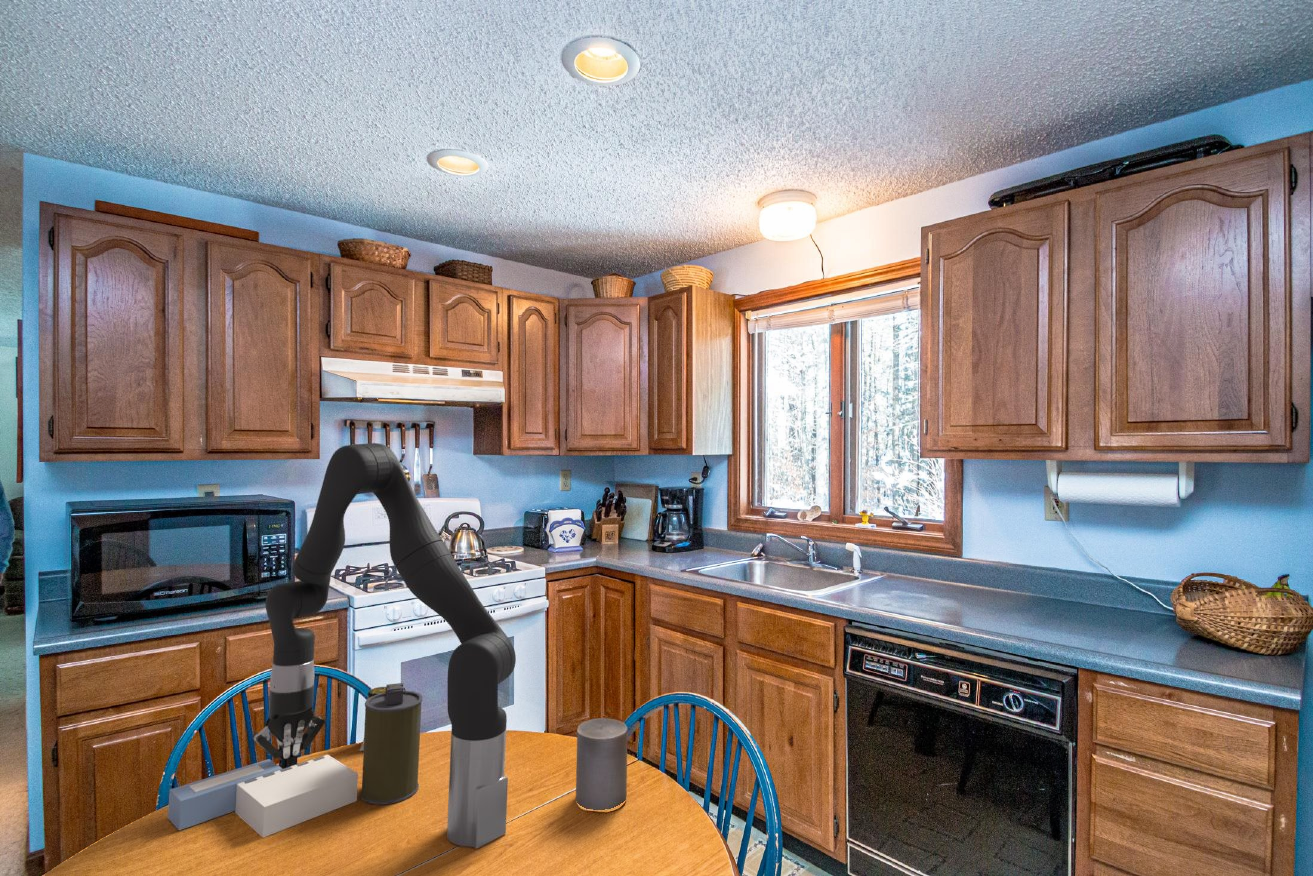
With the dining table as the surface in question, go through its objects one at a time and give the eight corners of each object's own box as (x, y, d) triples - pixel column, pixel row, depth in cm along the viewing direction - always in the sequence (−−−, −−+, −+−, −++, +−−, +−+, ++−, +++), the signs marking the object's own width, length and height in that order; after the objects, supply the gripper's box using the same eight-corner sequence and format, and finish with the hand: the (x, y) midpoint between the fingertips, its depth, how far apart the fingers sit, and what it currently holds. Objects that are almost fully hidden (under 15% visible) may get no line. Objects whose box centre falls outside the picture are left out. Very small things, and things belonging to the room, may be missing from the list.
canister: (421, 799, 122) (426, 691, 123) (360, 809, 118) (366, 698, 119) (415, 773, 132) (420, 674, 133) (359, 783, 127) (364, 679, 128)
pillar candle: (610, 783, 130) (612, 707, 131) (635, 805, 122) (637, 724, 122) (566, 796, 125) (568, 717, 125) (589, 820, 117) (591, 735, 117)
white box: (356, 800, 121) (358, 772, 121) (262, 837, 108) (264, 806, 108) (326, 780, 128) (327, 754, 128) (235, 812, 115) (236, 783, 116)
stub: (280, 794, 122) (282, 767, 122) (179, 830, 109) (181, 800, 109) (267, 784, 125) (269, 758, 126) (167, 817, 113) (169, 789, 113)
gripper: (262, 697, 119) (257, 794, 118) (335, 680, 129) (331, 769, 128) (247, 688, 123) (241, 781, 123) (318, 672, 134) (314, 758, 133)
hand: (287, 775), depth 125 cm, fingers closed
